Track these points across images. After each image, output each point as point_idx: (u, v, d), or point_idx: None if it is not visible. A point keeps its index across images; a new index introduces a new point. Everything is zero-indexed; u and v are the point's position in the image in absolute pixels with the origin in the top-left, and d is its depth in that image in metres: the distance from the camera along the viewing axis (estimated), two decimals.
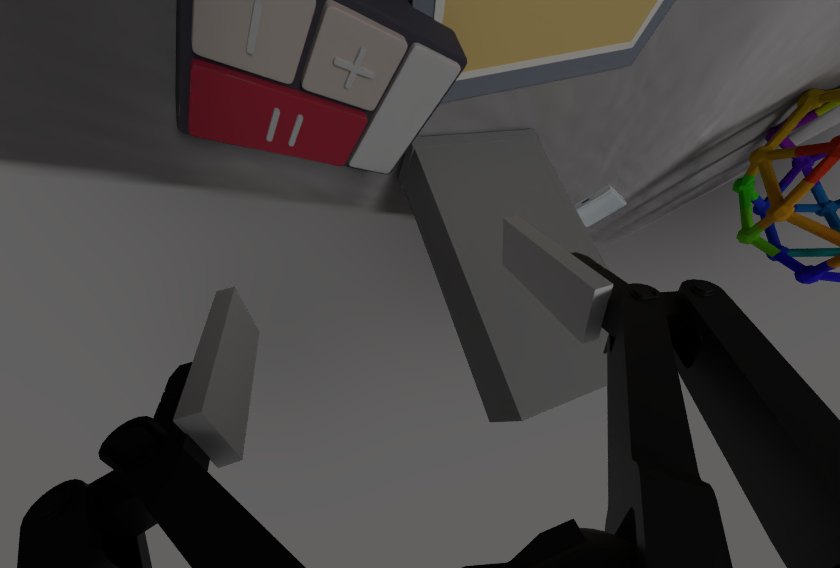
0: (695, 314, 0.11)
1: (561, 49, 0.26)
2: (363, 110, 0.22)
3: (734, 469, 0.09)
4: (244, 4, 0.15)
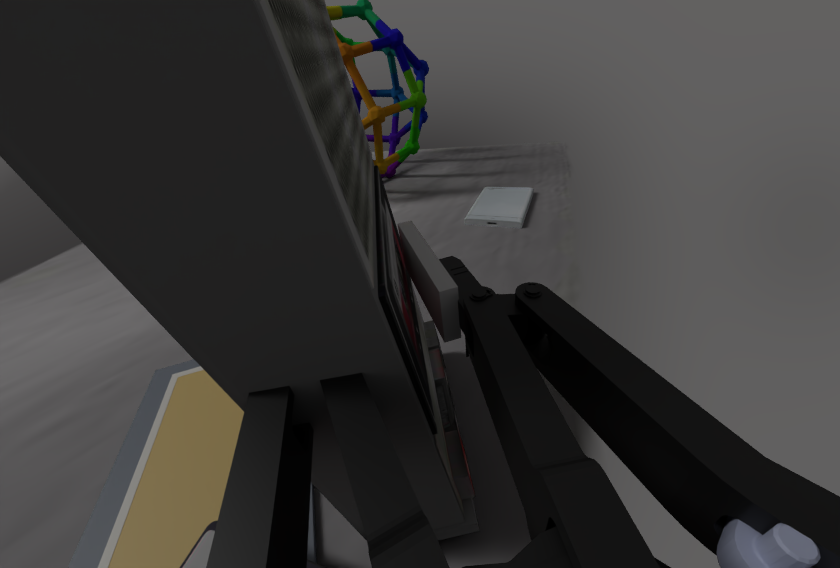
0: (537, 318, 0.11)
1: None
2: None
3: (614, 450, 0.10)
4: None
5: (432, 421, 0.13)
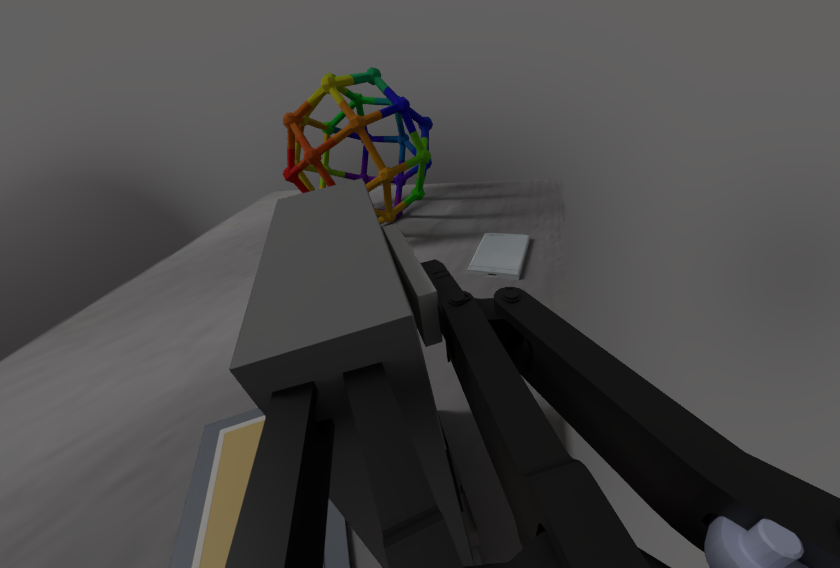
0: (517, 323, 0.11)
1: None
2: None
3: (599, 452, 0.10)
4: None
5: (461, 505, 0.19)
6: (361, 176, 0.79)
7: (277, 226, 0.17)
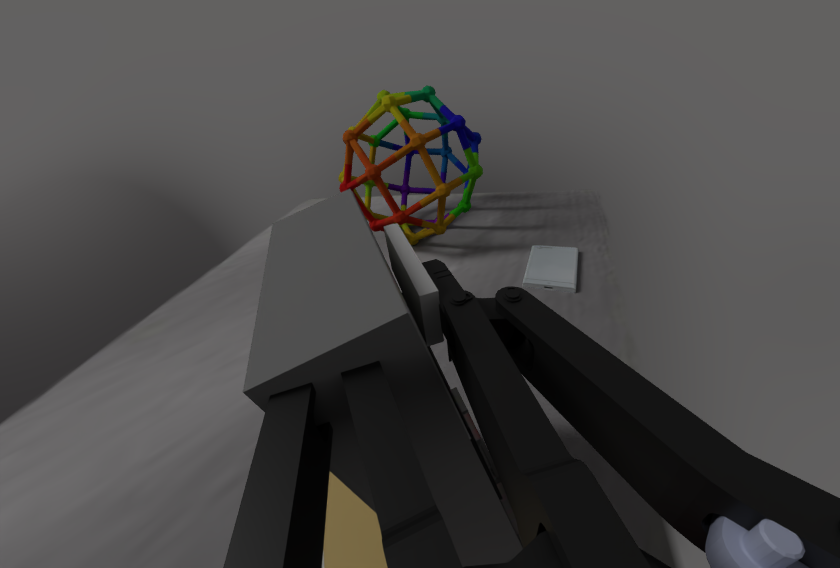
0: (518, 323, 0.11)
1: None
2: None
3: (600, 452, 0.10)
4: None
5: (499, 492, 0.19)
6: (403, 187, 0.81)
7: (274, 249, 0.17)
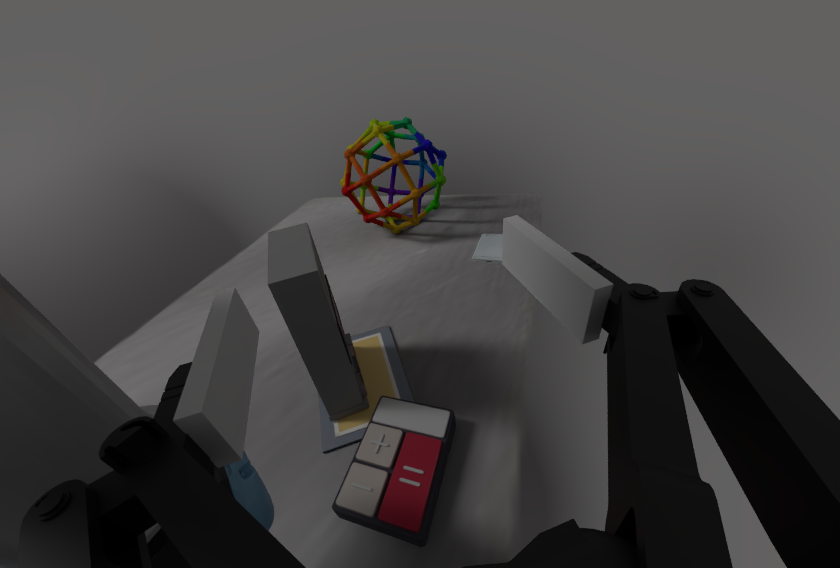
0: (695, 314, 0.11)
1: (382, 361, 0.58)
2: (405, 436, 0.44)
3: (734, 469, 0.09)
4: (354, 490, 0.39)
5: (350, 359, 0.45)
6: (390, 190, 1.04)
7: (271, 244, 0.42)
